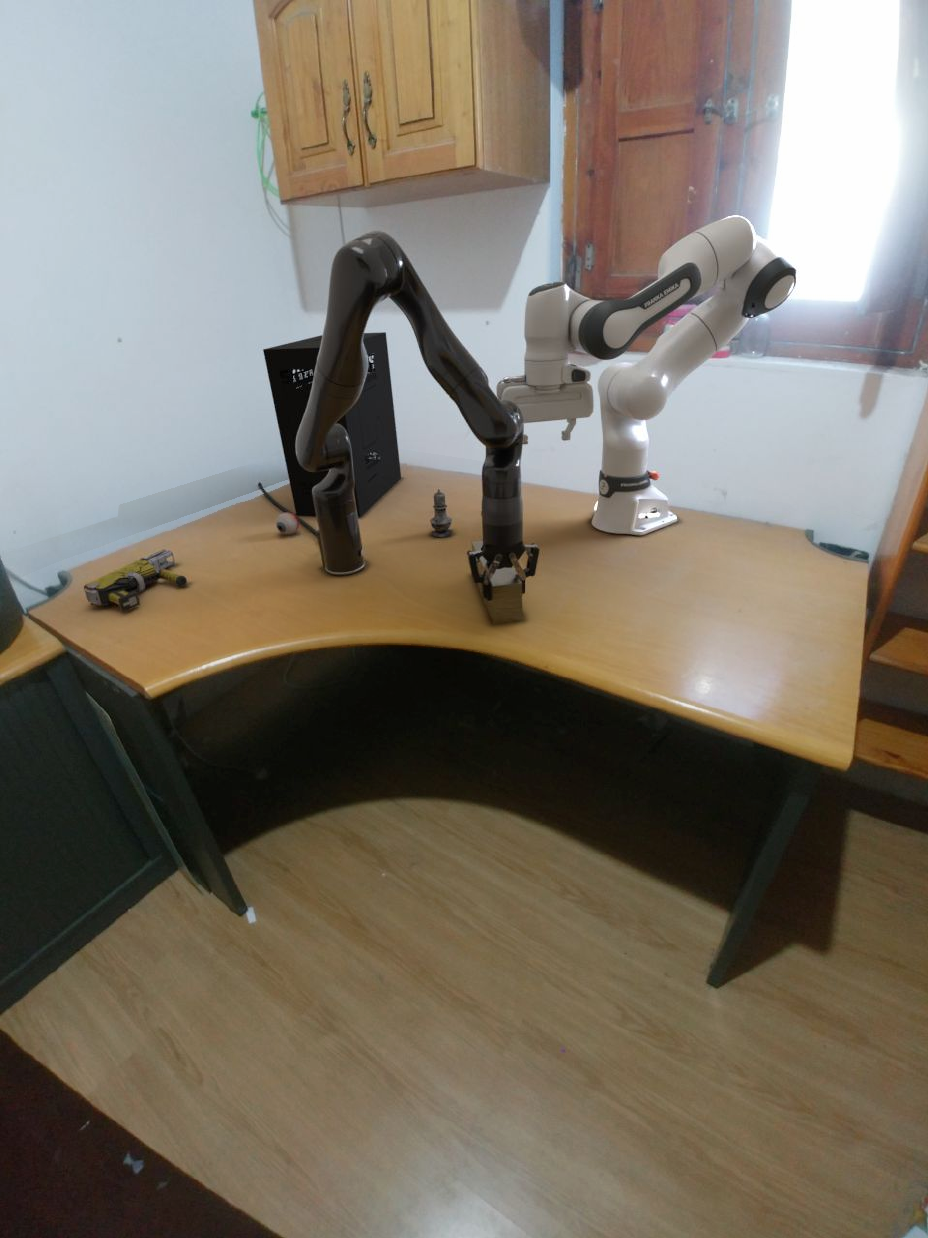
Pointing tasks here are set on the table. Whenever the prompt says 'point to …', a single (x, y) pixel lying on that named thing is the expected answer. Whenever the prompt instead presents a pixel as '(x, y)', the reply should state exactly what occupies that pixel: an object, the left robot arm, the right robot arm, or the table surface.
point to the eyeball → (287, 523)
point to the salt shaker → (440, 517)
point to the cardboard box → (363, 422)
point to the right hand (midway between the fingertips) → (544, 441)
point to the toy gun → (132, 581)
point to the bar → (502, 592)
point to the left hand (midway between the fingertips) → (503, 596)
